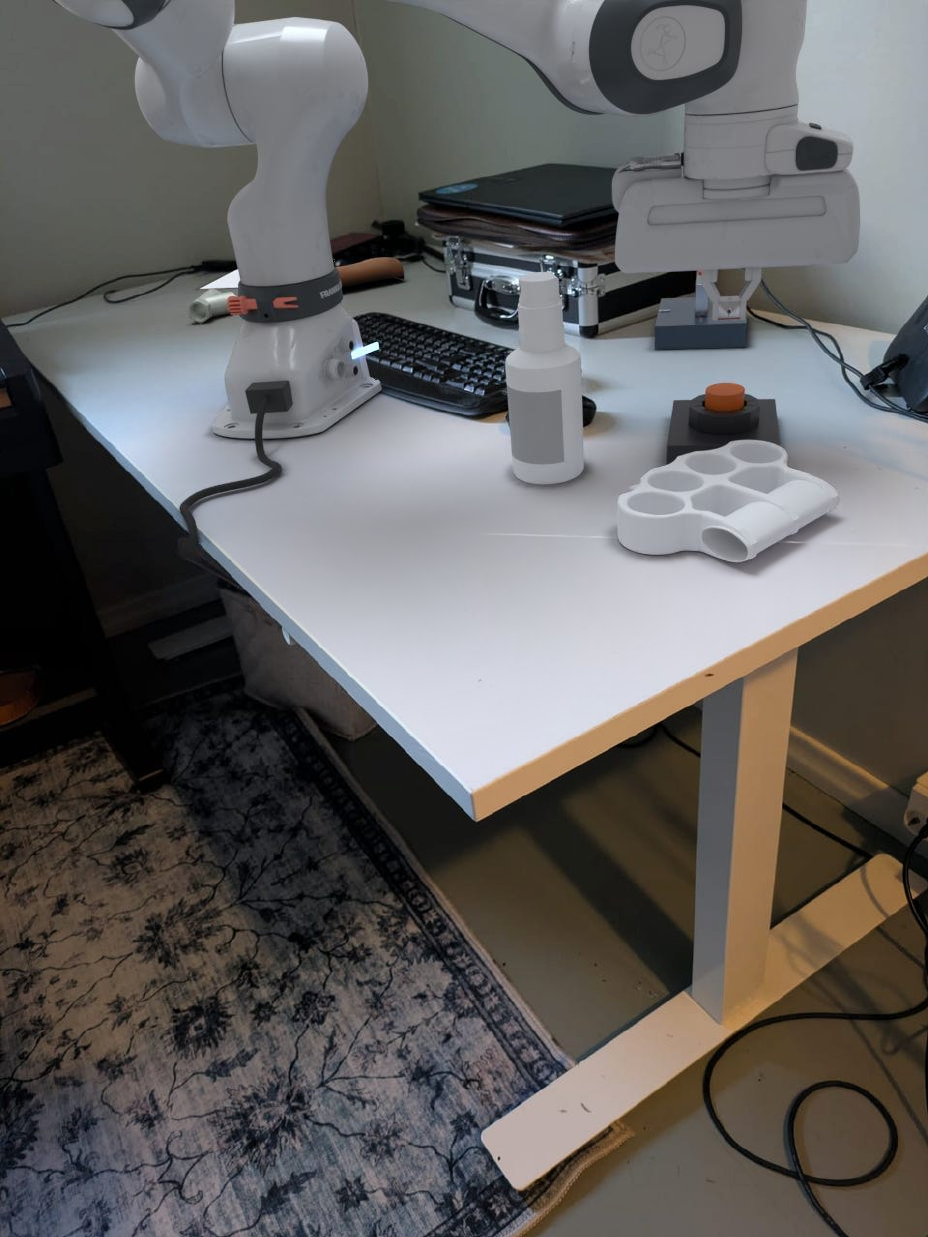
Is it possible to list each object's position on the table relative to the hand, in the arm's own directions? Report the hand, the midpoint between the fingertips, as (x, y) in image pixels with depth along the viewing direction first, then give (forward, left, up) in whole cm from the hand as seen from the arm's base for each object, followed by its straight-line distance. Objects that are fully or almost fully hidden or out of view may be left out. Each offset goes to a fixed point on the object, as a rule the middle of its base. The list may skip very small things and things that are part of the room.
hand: (728, 318), depth 82 cm
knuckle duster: (-16, 0, -12) cm, 20 cm away
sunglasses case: (+70, +64, -12) cm, 96 cm away
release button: (0, 0, -8) cm, 8 cm away
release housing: (0, 0, -12) cm, 12 cm away
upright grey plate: (+37, +3, -9) cm, 38 cm away
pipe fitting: (+54, +82, -12) cm, 99 cm away
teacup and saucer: (+84, +86, -12) cm, 121 cm away
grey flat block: (+37, +3, -12) cm, 39 cm away
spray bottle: (-7, +16, -12) cm, 21 cm away
